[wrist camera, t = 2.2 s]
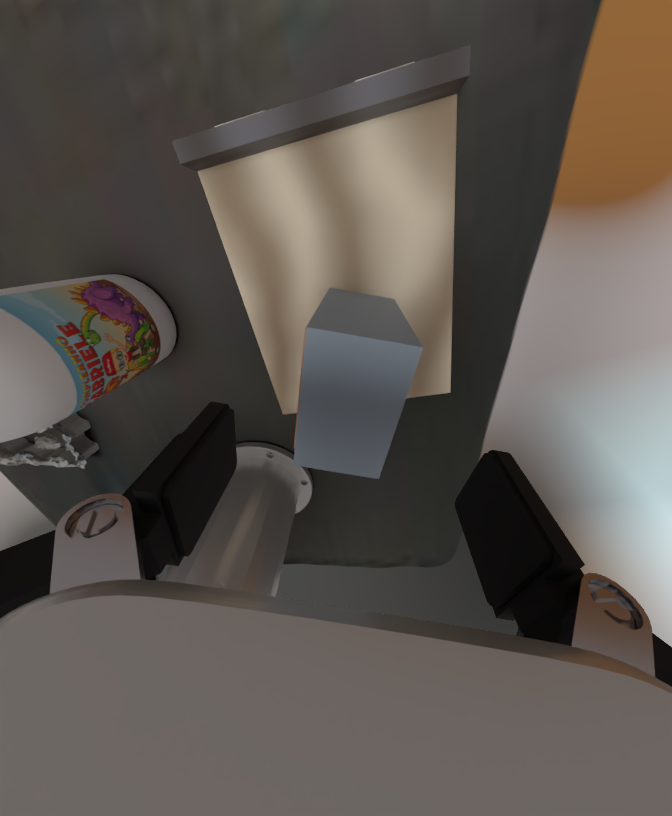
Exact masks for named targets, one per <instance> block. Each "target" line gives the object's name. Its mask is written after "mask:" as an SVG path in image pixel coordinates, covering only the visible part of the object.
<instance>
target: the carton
mask: <svg viewBox="0 0 672 816" xmlns="http://www.w3.org/2000/svg"><path fill="white" fill-rule="evenodd" d="M422 350H423V346H422V344H421V343H420V341H419V339H418V338H417V336H416V334H415V333H414V331H413V329H412V328H411V326H410V324H409V323H408V321H407V320H406V318H405V316H404V315H403V313H402V311H401V310H400V308H399V306H398V305H397V303H396V301H395V300H394V299H391V298H385V297H380V296H374V295H368V294H363V293H357V292H352V291H346V290H340V289H335V288H329V290H328V292H327V293H326V295H325V297H324V298H323V299H322V301H321V303H320V304H319V306H318V308H317V310H316V311H315V313H314V315H313V316H312V318H311V320H310V321H309V323H308V325H307V326H306V328H305V333H304V344H303V355H302V366H301V376H300V387H299V398H298V408H297V419H296V430H295V440H294V448H295V452H294V462H293V465H295V466H302V467H308V468H314V469H320V470H326V471H332V472H338V473H344V474H351V475H357V476H363V477H369V478H375V479H379V477H380V474H381V471H382V468H383V465H384V462H385V459H386V456H387V453H388V450H389V447H390V444H391V441H392V438H393V436H394V433H395V430H396V427H397V424H398V421H399V418H400V415H401V412H402V409H403V406H404V403H405V400H406V397H407V394H408V391H409V388H410V386H411V383H412V380H413V377H414V374H415V371H416V368H417V365H418V362H419V359H420V356H421V353H422Z"/></svg>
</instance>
